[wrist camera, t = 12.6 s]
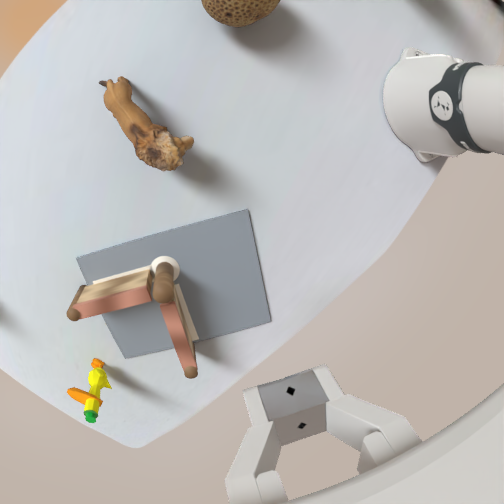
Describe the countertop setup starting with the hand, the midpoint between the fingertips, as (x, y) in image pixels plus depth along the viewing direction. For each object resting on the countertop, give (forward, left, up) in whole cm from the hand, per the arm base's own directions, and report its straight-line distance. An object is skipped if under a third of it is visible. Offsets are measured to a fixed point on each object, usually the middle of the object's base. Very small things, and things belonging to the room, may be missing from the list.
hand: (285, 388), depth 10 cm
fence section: (+14, +8, -31) cm, 35 cm away
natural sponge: (-8, -24, -31) cm, 40 cm away
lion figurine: (+5, -11, -31) cm, 34 cm away
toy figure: (+25, +21, -31) cm, 45 cm away
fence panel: (+8, +16, -30) cm, 35 cm away
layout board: (+7, +12, -31) cm, 34 cm away
